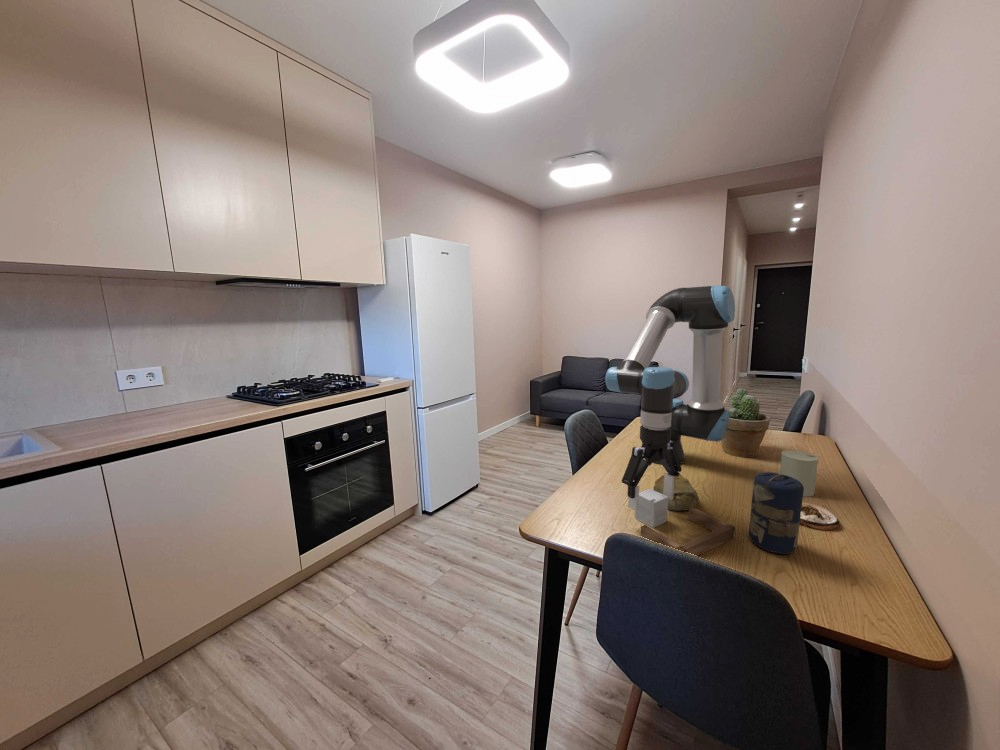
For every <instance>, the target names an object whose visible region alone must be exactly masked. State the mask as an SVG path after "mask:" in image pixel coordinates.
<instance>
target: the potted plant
mask: <svg viewBox="0 0 1000 750" xmlns="http://www.w3.org/2000/svg"><path fill="white" fill-rule="evenodd" d="M748 392H749V391H748V390H747V389H745V388H738V389H736V393H735V395H732V396H731V400H730V403H731V408H729V409H728V408H727V410H728V411H730V418H729V423H728V426H727V430H726V433H725V435H724V437H723V439H722V440H721V441H720V445H721V448H722V451H723V452H724V453H726V454H728V455H731V456H735V457H740V458H752V457H755V456H756V454H757V452H758V450H759V447H760V445H761V443H762V442H763V440H764V438H765V435H766V432H767V431H768V429H769V426H770V421H771V419H772V418H771V417H770V416H769V415H767V414H764V413H762V412H760V406H761V401H760V399H758V398H756V397H755V396H753V395H751V394H748Z"/></svg>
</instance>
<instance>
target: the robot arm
mask: <svg viewBox="0 0 1000 750" xmlns="http://www.w3.org/2000/svg"><path fill="white" fill-rule="evenodd" d="M735 301H736V300H735V296H734V293H733V291H732V289H731V288H730V287H729V286H728V285H705V286H694V287H693V286H692V287H679V288H674V289H672V290H669V291H668V292H666V293H664V294H663V295H662V296H660V297H659V298H658V299H657V300H655V301H654V303H652V305H651V306H650V307H649V309H648V310H647V312H646V314H645V319H646V320H645V322H644V324H643V325H642V327H641V329H640V330H639V332H638V334H637V336H636V337H635V339H634V341H633V343H632V344H631V347H630V348H629V350H628V352H626V355H625V357H624V358H623V360H622V362H621V364H620V365H619V366H612V367H609V368H607V371H606V373H605V379H604V380H605V385H606V388H607V390H609V391H611V392H616V393H621V394H622V393H623V394H631V395H639V396H641V404H640V405H641V407H640V419H639V423H640V426H639V440H640V441H641V447H636V446H633V447H632V449H631V456H630V458H629V461H628V464H627V466H626V467H625V470H624V474H623V476H622V479H621V483H622V484H624V485H625V486H627V499H628V503H627V507H628V508H629V509H631V510H633V511H634V512H635V511H638V504H639V493H640V485H639V483H640V482H641V479H642V477H643V476H644V474H645V472H646V471H647V469H648V467H650V466H652V464H653V463H655V464H660V465H662V467H663V468H664V470H665V471H666V472H664V474H663V475H664V489H663V495H665V496H668V498H669V499H673V495H674V485H675V476H677V477H678V476H679V475H681V474H680V473H681V472H682V466H681V464H684V463H685V460H686V459H685V458H686V455H685V452H684V448H683V443H682V436H683V437H688V438H693V439H697V440H702V441H706V442H709V441H710V442H716V443H717V442H721V440H722V439H723V437H724V435H725V433H726V430H727V426H728V423H729V418H730V411H728V409H725V403H724V402H723V401H722V400H721V399H720V398H721V378H722V377H721V376H722V375H721V374H722V372H721V371H722V356H723V355H722V351H723V350H722V349H723V332H725V330H727V329H728V328H729V323H732V322H733V321H734V320H735V317H736V314H735V312H736V302H735ZM676 323H688V329H689V330H690V331H691V332H692V333H693V334H692V335H693V338H692V339H693V344H692V347H693V348H692V383H691V385H692V386H691V387H692V389H691V390H692V392H691V394H692V395H691V398H690V399H688V401H687V402H686V403H687V404H684V400H683V399H682V398H680V397H681V396H683V395H685V393H686V392H687V391H688V390H689V386H690V381H689V378H688V377H687V375H686V374H685V373H684V372H682V371H681V370H673V368H669V367H664V366H662V367H661V366H650V364H651V362H652V360H653V359H654V357H655V355H656V353H657V350H658V349H659V347H660V345H661V343H662V341H663V340H664V337H665V336H666V333H667V332H668V331H669V329H671V328H672V327H674V325H675V324H676Z"/></svg>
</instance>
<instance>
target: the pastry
mask: <svg viewBox="0 0 1000 750" xmlns="http://www.w3.org/2000/svg"><path fill="white" fill-rule="evenodd" d="M663 489H664V474H663V475H662V476H660V477H659V478H657V479H656V480H655V482H654V485H653V489H652V490H654V491H656V492H658V493H661V494H663ZM699 498H700V497H699V495H698V493H697V490H696V489H695V488H694V487H693V486H692V483H690V481H689V480H688V479H687V478H686V477H684V476H683V475H682V474H680V475H679V476H678V477H677V476H675V485H674V495H673V499H669V498H668V511H675V512H678V511H689V508H691V507H694V508H697V504H698V503H699V501H700V499H699Z"/></svg>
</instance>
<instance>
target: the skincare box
mask: <svg viewBox="0 0 1000 750" xmlns="http://www.w3.org/2000/svg"><path fill="white" fill-rule="evenodd" d="M668 512H669V510H668V496H665V495H663V494H661V493H658V492H656V491H654V489H652V488H648V489H645V490H643V491H641V492H640V491H639V504H638V511H635V510H634V518H635V519H636V520H638V521H639V522H641V523H643V524H644V525H646V526H648V527H649V528H651V529H655V528H656V527H658V526H660V525H662V524H664V523H666V522H668Z"/></svg>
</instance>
